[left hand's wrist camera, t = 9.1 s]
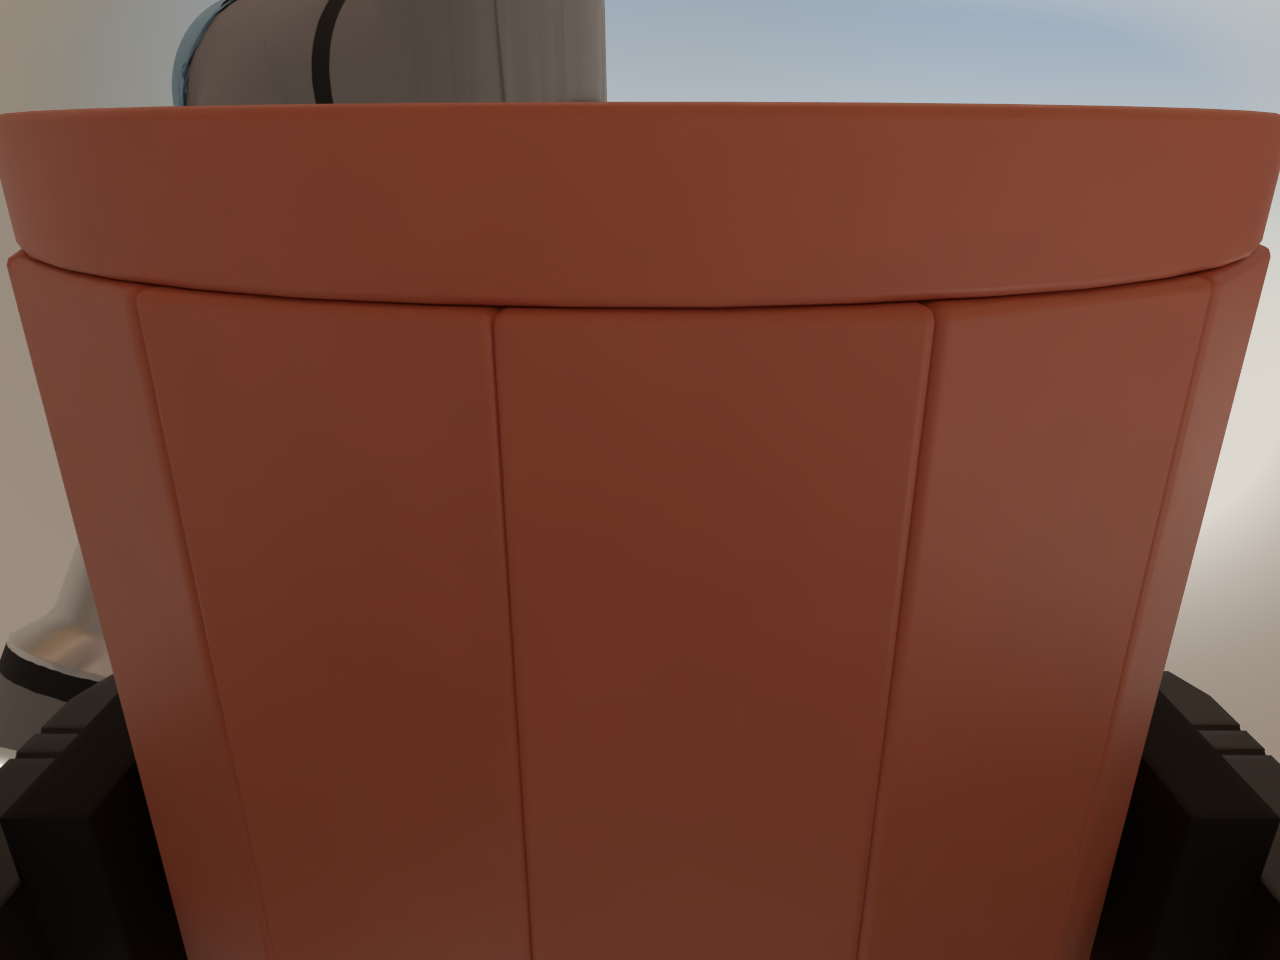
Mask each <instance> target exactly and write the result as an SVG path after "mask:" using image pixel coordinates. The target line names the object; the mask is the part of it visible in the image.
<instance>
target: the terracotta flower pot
mask: <svg viewBox="0 0 1280 960" xmlns="http://www.w3.org/2000/svg"><path fill="white" fill-rule="evenodd" d="M1279 171H1280V114H1277V113H1268V112H1257V111H1243V110H1221V109H1199V108H1166V107H1131V106H1083V105H1028V104H949V103H833V102H832V103H831V102H476V103H355V104H271V105H217V106H166V107H131V108H95V109H69V110H48V111H29V112H17V113H5V114H1V115H0V179H1V183H2V187H3V191H4V195H5V199H6V203H7V207H8V211H9V215H10V219H11V223H12V226H13V230H14V234H15V238H16V241H17V243H18V244H19V245H20V247H21V248H22V249H21V250H19V251H18V252H16V253H15V254H14V255H12V256H11V257H9V258H8V262H7V268H8V272H9V276H10V280H11V283H12V287H13V291H14V295H15V299H16V302H17V307H18V310H19V314H20V318H21V322H22V326H23V330H24V333H25V337H26V341H27V345H28V349H29V353H30V356H31V360H32V364H33V368H34V372H35V376H36V379H37V383H38V387H39V391H40V395H41V398H42V402H43V406H44V410H45V414H46V417H47V421H48V425H49V429H50V433H51V437H52V441H53V445H54V448H55V452H56V456H57V460H58V464H59V468H60V471H61V475H62V479H63V483H64V487H65V490H66V494H67V498H68V502H69V506H70V510H71V513H72V517H73V521H74V525H75V529H76V533H77V537H78V540H79V544H80V548H81V552H82V556H83V560H84V563H85V567H86V571H87V575H88V579H89V583H90V586H91V590H92V594H93V598H94V602H95V606H96V609H97V613H98V617H99V621H100V625H101V629H102V632H103V636H104V640H105V644H106V648H107V652H108V655H109V659H110V663H111V667H112V671H113V675H114V678H115V682H116V686H117V690H118V694H119V698H120V701H121V705H122V709H123V713H124V717H125V721H126V724H127V728H128V732H129V736H130V740H131V744H132V747H133V751H134V755H135V759H136V763H137V767H138V770H139V774H140V778H141V782H142V786H143V790H144V793H145V797H146V801H147V805H148V809H149V813H150V816H151V820H152V824H153V828H154V832H155V836H156V839H157V843H158V847H159V851H160V855H161V859H162V862H163V866H164V870H165V874H166V878H167V882H168V885H169V889H170V893H171V897H172V901H173V905H174V908H175V912H176V916H177V920H178V924H179V928H180V931H181V935H182V939H183V943H184V947H185V951H186V954H187V958H188V960H1089V958H1090V955H1091V951H1092V947H1093V943H1094V939H1095V935H1096V931H1097V927H1098V924H1099V920H1100V916H1101V912H1102V908H1103V904H1104V900H1105V896H1106V892H1107V889H1108V885H1109V881H1110V877H1111V873H1112V869H1113V865H1114V861H1115V858H1116V854H1117V850H1118V846H1119V842H1120V838H1121V834H1122V830H1123V827H1124V823H1125V819H1126V815H1127V811H1128V807H1129V803H1130V799H1131V796H1132V792H1133V788H1134V784H1135V780H1136V776H1137V772H1138V768H1139V765H1140V761H1141V757H1142V753H1143V749H1144V745H1145V741H1146V737H1147V733H1148V730H1149V726H1150V722H1151V718H1152V714H1153V710H1154V706H1155V702H1156V699H1157V695H1158V691H1159V687H1160V683H1161V679H1162V675H1163V671H1164V668H1165V664H1166V660H1167V656H1168V652H1169V648H1170V644H1171V640H1172V637H1173V633H1174V629H1175V625H1176V621H1177V617H1178V613H1179V609H1180V605H1181V602H1182V597H1183V594H1184V590H1185V586H1186V582H1187V578H1188V574H1189V570H1190V567H1191V563H1192V559H1193V555H1194V551H1195V547H1196V543H1197V540H1198V536H1199V532H1200V528H1201V524H1202V520H1203V516H1204V512H1205V508H1206V505H1207V501H1208V497H1209V493H1210V489H1211V485H1212V481H1213V477H1214V474H1215V470H1216V466H1217V462H1218V458H1219V454H1220V450H1221V446H1222V443H1223V439H1224V435H1225V431H1226V427H1227V423H1228V419H1229V415H1230V412H1231V408H1232V404H1233V400H1234V396H1235V392H1236V388H1237V384H1238V381H1239V377H1240V373H1241V369H1242V365H1243V361H1244V357H1245V353H1246V349H1247V345H1248V342H1249V338H1250V334H1251V330H1252V326H1253V322H1254V318H1255V315H1256V311H1257V307H1258V303H1259V299H1260V295H1261V291H1262V287H1263V284H1264V280H1265V276H1266V272H1267V268H1268V264H1269V260H1270V252H1269V249H1268V248H1267V247H1265V246H1262V245H1260V244H1259V243H1260V242H1261V241H1262V238H1263V234H1264V230H1265V226H1266V223H1267V219H1268V214H1269V211H1270V207H1271V202H1272V199H1273V195H1274V191H1275V187H1276V183H1277V179H1278V175H1279Z"/></svg>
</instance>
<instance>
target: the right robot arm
mask: <svg viewBox="0 0 1280 960" xmlns="http://www.w3.org/2000/svg"><path fill="white" fill-rule="evenodd" d="M172 96H173V104H174V106H217V105H271V104H355V103H476V102H607V88H606V45H605V3H604V0H220V1H218V2H216V3H215V4H213V5H211V6H210V7H209V8H207V9H206V10H205V11H204V12H202V13H201V14H200V15H199V16H198V17H197V18H196V19H195V20H194V21H193V23H192V24H191V25H190V27H189V28H188V30H187V31H186V33H185V35H184V37H183V38H182V40H181V43H180V45H179V47H178V50H177V53H176V57H175V61H174V67H173V74H172ZM112 674H113V671H112V667H111V663H110V659H109V655H108V652H107V648H106V644H105V640H104V636H103V632H102V629H101V625H100V621H99V617H98V613H97V609H96V606H95V602H94V598H93V594H92V590H91V586H90V583H89V579H88V575H87V571H86V567H85V563H84V560H83V556H82V552H81V548H80V544H79V540H78V542H77V544H76V547H75V550H74V553H73V556H72V558H71V561H70V564H69V567H68V570H67V572H66V575H65V578H64V581H63V584H62V587H61V589H60V592H59V595H58V598H57V601H56V603H55V606H54V608H53V609H52V610H51V611H49V612H48V613H47V614H46V615H44V616H42V617H40V618H38V619H36V620H34V621H32V622H30V623H28V624H26V625H25V626H23V627H21V628H19V629H17V630H15V631H13V632H12V633H11V634H10V635H9V637H8V640H7V642H6V645H5V648H4V651H3V654H2V656H1V659H0V768H1V767H2V766H3V765H4V764H5V763H6V762H7V761H8V760H9V759H15V757H16V752H17V751H18V750H19V749H20V748H21V747H22V746H23V745H24V744H25V743H26V742H27V741H28V740H29V739H30V738H31V737H32V736H33V735H34V734H40V732H41V727H42V726H43V725H44V724H45V723H46V722H47V721H48V720H49V719H50V718H51V717H52V716H53V715H55V714H56V713H57V712H58V711H59V710H60V709H61V708H62V707H63V706H64V705H65V704H66V703H67V702H68V701H69V700H70V699H71V698H73V697H74V696H76V695H78V694H79V693H81V692H83V691H85V690H86V689H88V688H90V687H91V686H93V685H95V684H96V683H98V682H100V681H101V680H103V679H105V678H106V677H108V676H110V675H112Z"/></svg>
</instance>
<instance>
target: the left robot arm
mask: <svg viewBox="0 0 1280 960" xmlns="http://www.w3.org/2000/svg"><path fill="white" fill-rule="evenodd" d="M0 960H188V958H187V954H186V951H185V947H184V943H183V939H182V935H181V931H180V928H179V924H178V920H177V916H176V912H175V908H174V905H173V901H172V897H171V893H170V889H169V885H168V882H167V878H166V874H165V870H164V866H163V862H162V859H161V855H160V851H159V847H158V843H157V839H156V836H155V832H154V828H153V824H152V820H151V816H150V813H149V809H148V805H147V801H146V797H145V793H144V790H143V786H142V782H141V778H140V774H139V770H138V767H137V763H136V759H135V755H134V751H133V747H132V744H131V740H130V736H129V732H128V728H127V724H126V721H125V717H124V713H123V709H122V705H121V701H120V698H119V694H118V690H117V686H116V682H115V678H114V675H113V674H112V675H110V676H108V677H106V678H105V679H103V680H101V681H100V682H98V683H96V684H95V685H93V686H91V687H90V688H88V689H86V690H85V691H83V692H81V693H79V694H78V695H76V696H74V697H73V698H71V699H70V700H69V701H68V702H67V703H66V704H65V705H64V706H63V707H62V708H61V709H60V710H59V711H58V712H57V713H56V714H55V715H53V716H52V717H51V718H50V719H49V720H48V721H47V722H46V723H45V724H44V725H43V726H42V727H41V732H40V734H34V735H33V736H32V737H31V738H30V739H29V740H28V741H27V742H26V743H25V744H24V745H23V746H22V747H21V748H20V749H19V750H18V751H17V752H16V757H15V759H9V760H8V761H7V762H6V763H5V764H4V765H3V766H2V767H1V768H0ZM1089 960H1280V764H1279V763H1278V762H1277V761H1276V760H1275V759H1274V758H1273V757H1272V756H1271V755H1266V754H1265V749H1264V748H1263V747H1262V746H1261V745H1260V744H1259V743H1258V742H1257V741H1256V740H1255V739H1254V738H1253V737H1252V736H1251V735H1250V734H1249V733H1248V732H1247V731H1241V730H1240V725H1239V724H1238V723H1237V722H1236V721H1235V720H1234V719H1233V718H1232V717H1231V716H1230V715H1229V714H1228V713H1227V712H1226V711H1225V710H1224V709H1223V708H1222V707H1221V706H1220V705H1219V704H1218V703H1217V702H1216V701H1215V700H1214V699H1213V698H1212V697H1211V696H1209V695H1208V694H1206V693H1204V692H1203V691H1201V690H1199V689H1197V688H1196V687H1194V686H1192V685H1191V684H1189V683H1187V682H1186V681H1184V680H1182V679H1181V678H1179V677H1177V676H1176V675H1174V674H1172V673H1170V672H1169V671H1163V675H1162V679H1161V683H1160V687H1159V691H1158V695H1157V699H1156V702H1155V706H1154V710H1153V714H1152V718H1151V722H1150V726H1149V730H1148V733H1147V737H1146V741H1145V745H1144V749H1143V753H1142V757H1141V761H1140V765H1139V768H1138V772H1137V776H1136V780H1135V784H1134V788H1133V792H1132V796H1131V799H1130V803H1129V807H1128V811H1127V815H1126V819H1125V823H1124V827H1123V830H1122V834H1121V838H1120V842H1119V846H1118V850H1117V854H1116V858H1115V861H1114V865H1113V869H1112V873H1111V877H1110V881H1109V885H1108V889H1107V892H1106V896H1105V900H1104V904H1103V908H1102V912H1101V916H1100V920H1099V924H1098V927H1097V931H1096V935H1095V939H1094V943H1093V947H1092V951H1091V955H1090V958H1089Z"/></svg>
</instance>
